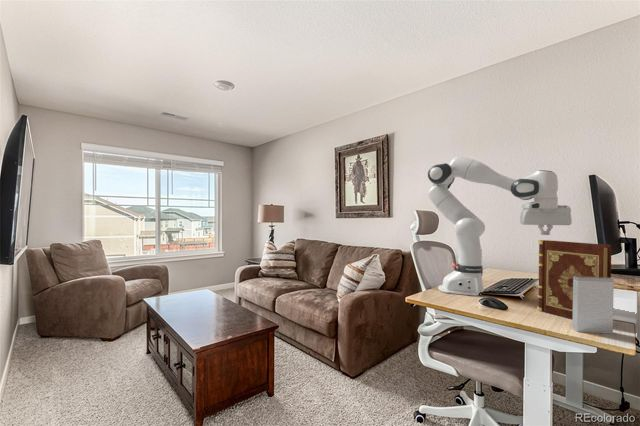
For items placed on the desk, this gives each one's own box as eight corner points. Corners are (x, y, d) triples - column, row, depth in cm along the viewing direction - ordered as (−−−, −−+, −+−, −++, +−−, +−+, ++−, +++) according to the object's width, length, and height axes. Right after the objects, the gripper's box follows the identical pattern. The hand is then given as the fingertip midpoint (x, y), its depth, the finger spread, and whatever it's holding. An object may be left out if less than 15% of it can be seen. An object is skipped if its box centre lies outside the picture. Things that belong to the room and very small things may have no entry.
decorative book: (533, 309, 130) (535, 240, 129) (543, 306, 134) (544, 239, 133) (601, 327, 110) (603, 245, 110) (610, 323, 114) (611, 244, 114)
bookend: (577, 331, 106) (577, 277, 106) (572, 328, 108) (573, 275, 108) (612, 334, 104) (613, 278, 104) (607, 331, 106) (607, 277, 106)
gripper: (566, 205, 141) (565, 234, 141) (518, 205, 144) (518, 233, 144) (575, 205, 135) (574, 235, 135) (525, 204, 138) (525, 234, 138)
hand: (545, 234), depth 139 cm, fingers closed
